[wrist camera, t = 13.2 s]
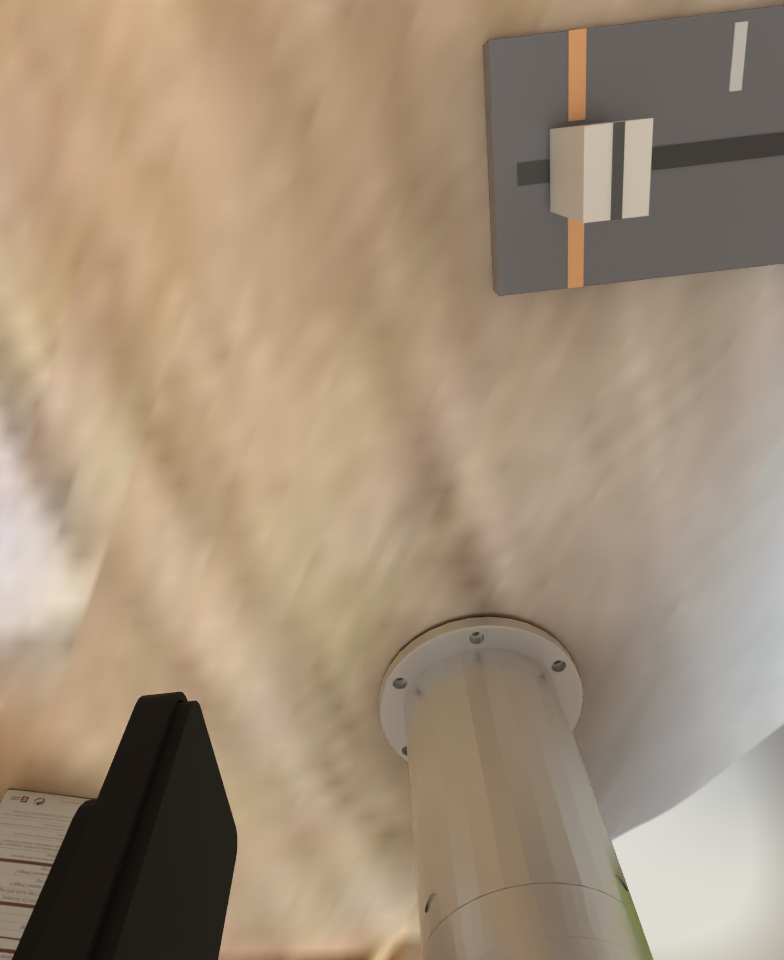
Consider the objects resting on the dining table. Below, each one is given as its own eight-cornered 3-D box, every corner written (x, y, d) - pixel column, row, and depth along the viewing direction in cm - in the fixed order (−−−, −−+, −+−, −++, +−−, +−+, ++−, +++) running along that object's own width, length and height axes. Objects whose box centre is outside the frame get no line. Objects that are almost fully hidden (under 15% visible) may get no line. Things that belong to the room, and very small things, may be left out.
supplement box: (114, 871, 50) (41, 1086, 39) (5, 859, 49) (-103, 1075, 38) (122, 799, 47) (45, 1009, 36) (6, 784, 46) (-111, 995, 35)
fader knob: (605, 205, 30) (649, 215, 26) (550, 211, 30) (583, 223, 26) (607, 122, 29) (654, 117, 24) (549, 129, 29) (584, 125, 24)
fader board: (915, 241, 33) (939, 245, 32) (493, 289, 33) (498, 296, 32) (967, -13, 29) (999, -21, 27) (482, 44, 29) (489, 39, 28)
